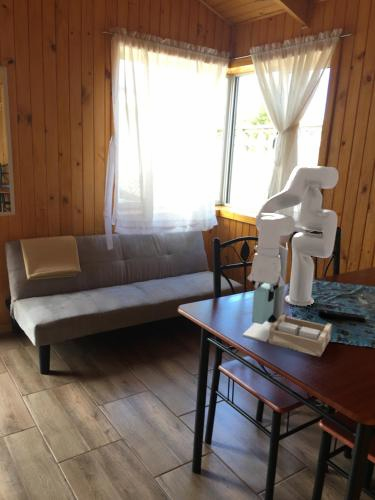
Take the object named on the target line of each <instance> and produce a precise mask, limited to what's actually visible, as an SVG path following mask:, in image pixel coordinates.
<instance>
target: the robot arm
mask: <svg viewBox="0 0 375 500" xmlns="http://www.w3.org/2000/svg"><path fill="white" fill-rule="evenodd" d="M291 171H292V172H291V173H290V175H289V178H288V179H287V181H286V183H285V186H284V187H283V189H282V190H281V192H278V193H276V194H275V195H273V196H272V197H270V198H269V199H267V200H266V201H265V202H264V203H263V204H262V206H261V207H260V210H259V212H258V214H257V216H256V220H255V228H256V230H257V231H258V241H257V245H255V246H254V247H253V249H254V250H255V251H256V253H254V255H253V256H254V257H253V260H252V264H251V271H250V273H249V275H248V276H247V280H248V281H249V282H250V283H252V285H253V287H254V289H255V290H256V289H257V288H258V287H260V286H261V285H262V284H264V283H267V284H270V291H269V296H268V302H270V301H271V300H272V299H274V290H276V289H277V288H279V287H281V286H283V285H284V284H285V285H286V282H285V283H284V281H283V279H282V277H281V259H280V256H279V255H278V254H279V245H280V240H281V236H284V237H285V236H289V235H291V234H293V232H294V230H295V228H296V220H295V218H293V217H292V216H291V215H287V214H282V213H281V214H280V213H276V212H278V211H280V210H284V209H289V208H292V207H296V206H298V205H300V209H299V210H300V211H299V217H298V225H299V227H300V228H301V229H303V230H307V231H314V232H315V231H316V232H322V234H316V233H311V232H304V231H303V232H297V233H295V234H294V235H293V236H292V239H291V251H292V255H291V256H292V258H291V259H292V260H291V269H290V270H291V271H290V281H289V282H290V283H289V293H288V295H286V296H284V300H285V302H286V303H287V304H289V305H293V306H296V305H297V307H308V306H307V305H310V306H312V305H311V304H313V303H315V300H314V298H313V297H312V288H313V282H314V271H315V263H314V260H313V258H312V257H315V258H316V257H317V258H322V259H323V258H324V259H327V258H330V257H331V256H332V254H333V251H334V248H335V247H334V245H335V241H336V234H337V228H338V215H337V212H336V211H334V210H332V209H325V208H324V209H323V208H322V206H323V205H322V204H323V194H322V193H321V190H320V189H327V190H328V189H333V188H335V187H336V186H337V183H338V181H339V176H340V175H339V172H338V170H337V168H335V167H334V166H333V167H331V166H324V165H323V166H321V165H319V166H318V165H298V166H295V168H293V170H291ZM311 256H312V257H311ZM278 281H279V284H277V285H276V283H278ZM313 305H314V304H313Z"/></svg>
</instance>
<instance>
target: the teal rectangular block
mask: <svg viewBox="0 0 375 500" xmlns="http://www.w3.org/2000/svg"><path fill="white" fill-rule="evenodd" d="M269 291H270V284H267V283H261V284H260V287H258V288H257V289H256V288H255V289H254V291H253V300H252V301H253V302H252V312H251V313H252V314H251V323H253V324H254V323H258V324H263V323H264V322H265V321H267V319H268V320H269V319H270V317H271V316H273V315H272V314H273V309H274V299H272V300H271V301H270V302H268V296H269ZM274 298H275V290H274Z"/></svg>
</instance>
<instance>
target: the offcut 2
mask: <svg viewBox="0 0 375 500" xmlns="http://www.w3.org/2000/svg"><path fill="white" fill-rule="evenodd" d="M319 334H320V330H316V329H312V328H307V327H303V326H302V328H301V329H300V330H299V336H300V337H304V338H308V339H313V340H318V338H319Z"/></svg>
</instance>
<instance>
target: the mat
mask: <svg viewBox="0 0 375 500" xmlns="http://www.w3.org/2000/svg"><path fill="white" fill-rule="evenodd" d="M273 323H274V322H271V321H268V322H267V320H266V321H265V322H264V323H263V324H258V323H254V322H253V324H252V325H251V326H250V327H248V329H247V330H246V331H244V333H242V336H243V337H246V338H250V339H254V340H257V341H262V342H265V343H266V342H268V341H269V329H270V327H271V326H272V324H273Z"/></svg>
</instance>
